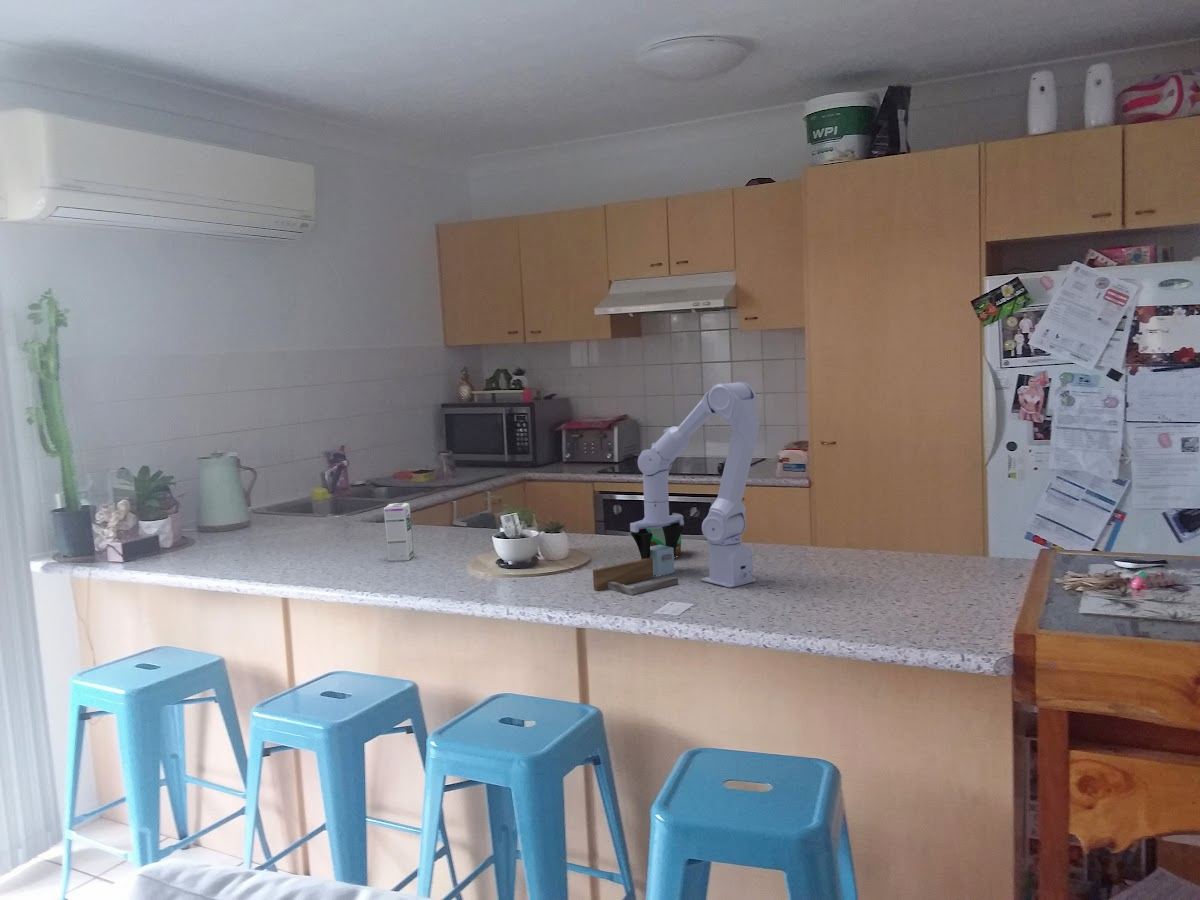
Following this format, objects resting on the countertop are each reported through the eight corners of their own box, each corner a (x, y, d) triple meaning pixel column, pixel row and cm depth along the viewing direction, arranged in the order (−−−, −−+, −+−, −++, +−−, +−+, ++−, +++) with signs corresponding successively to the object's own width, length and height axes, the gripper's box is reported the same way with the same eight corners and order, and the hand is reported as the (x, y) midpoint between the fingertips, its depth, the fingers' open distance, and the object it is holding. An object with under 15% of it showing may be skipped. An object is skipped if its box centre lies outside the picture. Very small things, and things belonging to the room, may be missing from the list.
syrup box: (409, 560, 248) (405, 505, 246) (387, 561, 248) (383, 506, 246) (414, 555, 253) (410, 502, 252) (392, 556, 254) (388, 503, 252)
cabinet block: (676, 573, 220) (675, 548, 220) (660, 577, 217) (659, 551, 217) (660, 569, 225) (659, 544, 224) (644, 573, 222) (643, 548, 221)
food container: (666, 562, 232) (664, 522, 230) (646, 560, 235) (644, 520, 234) (695, 553, 241) (693, 514, 240) (675, 550, 245) (673, 512, 244)
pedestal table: (678, 584, 210) (677, 564, 210) (621, 597, 201) (620, 576, 200) (649, 576, 218) (649, 557, 218) (593, 589, 209) (592, 569, 208)
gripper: (668, 494, 227) (670, 550, 229) (621, 502, 219) (623, 560, 220) (688, 497, 222) (690, 555, 223) (640, 506, 213) (642, 565, 214)
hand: (658, 558), depth 221 cm, fingers open, 7 cm apart
